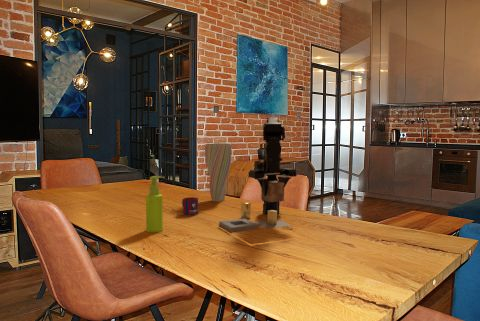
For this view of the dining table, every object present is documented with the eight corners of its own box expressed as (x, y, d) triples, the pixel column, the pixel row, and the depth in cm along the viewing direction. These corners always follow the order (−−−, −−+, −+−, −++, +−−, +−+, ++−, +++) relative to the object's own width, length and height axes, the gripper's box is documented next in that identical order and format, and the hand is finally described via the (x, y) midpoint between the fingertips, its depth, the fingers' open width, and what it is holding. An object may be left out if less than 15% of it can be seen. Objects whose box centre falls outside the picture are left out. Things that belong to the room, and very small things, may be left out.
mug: (186, 216, 166) (186, 200, 166) (177, 211, 175) (177, 197, 174) (200, 214, 170) (200, 199, 169) (191, 210, 178) (191, 195, 178)
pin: (247, 218, 163) (247, 201, 163) (252, 220, 160) (252, 203, 159) (239, 219, 161) (239, 202, 161) (243, 221, 158) (243, 204, 157)
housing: (275, 198, 154) (275, 180, 154) (283, 200, 149) (284, 182, 148) (261, 199, 152) (261, 181, 151) (269, 202, 146) (269, 183, 145)
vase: (235, 200, 206) (236, 143, 203) (221, 203, 194) (221, 144, 192) (215, 197, 213) (215, 143, 211) (199, 201, 202) (199, 143, 199)
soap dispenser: (167, 228, 145) (166, 175, 143) (157, 233, 138) (156, 177, 137) (153, 227, 147) (152, 174, 145) (143, 231, 140) (142, 176, 139)
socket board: (244, 223, 154) (244, 218, 153) (258, 229, 144) (258, 224, 144) (219, 226, 149) (219, 221, 148) (231, 233, 139) (231, 227, 139)
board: (276, 220, 158) (276, 207, 158) (291, 226, 149) (292, 212, 148) (253, 223, 154) (253, 209, 153) (267, 229, 144) (267, 215, 143)
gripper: (282, 153, 160) (281, 191, 161) (242, 154, 152) (241, 193, 153) (297, 155, 150) (297, 194, 152) (255, 156, 142) (255, 198, 143)
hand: (272, 195), depth 150 cm, fingers closed on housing, 6 cm apart
